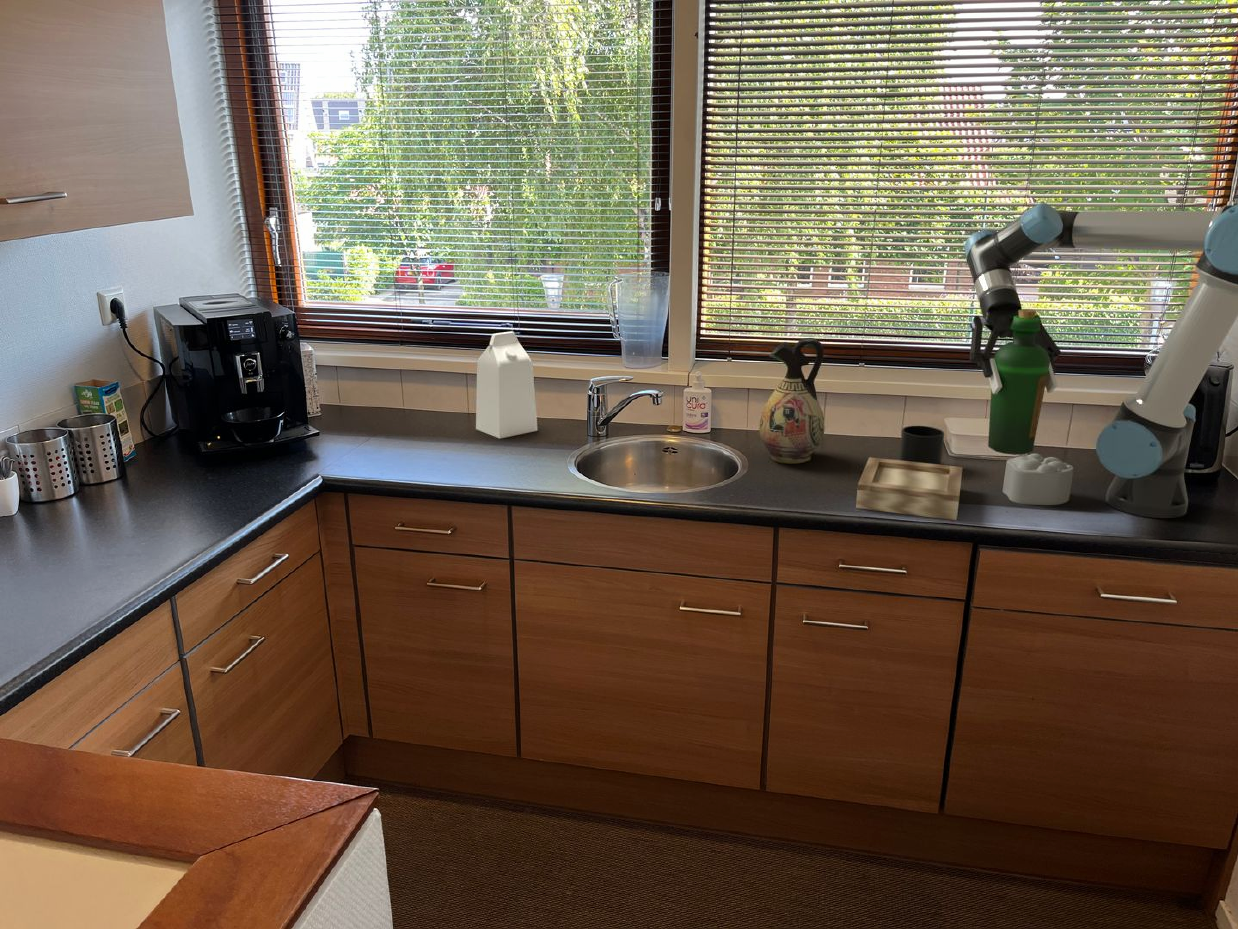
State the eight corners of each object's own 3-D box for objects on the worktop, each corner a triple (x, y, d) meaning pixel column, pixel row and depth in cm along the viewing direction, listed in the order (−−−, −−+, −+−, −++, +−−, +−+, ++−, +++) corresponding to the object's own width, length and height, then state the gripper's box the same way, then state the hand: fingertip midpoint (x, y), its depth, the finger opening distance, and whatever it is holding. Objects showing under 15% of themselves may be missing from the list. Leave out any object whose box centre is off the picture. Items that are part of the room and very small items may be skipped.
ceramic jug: (754, 466, 228) (760, 340, 219) (761, 447, 242) (767, 329, 233) (827, 471, 224) (837, 344, 215) (830, 452, 239) (839, 332, 229)
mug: (929, 458, 234) (932, 422, 232) (945, 474, 223) (950, 436, 220) (890, 458, 234) (893, 422, 231) (905, 474, 223) (909, 436, 220)
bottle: (1050, 453, 191) (1070, 312, 183) (1008, 460, 188) (1026, 316, 179) (1011, 439, 201) (1028, 305, 192) (970, 445, 197) (985, 308, 189)
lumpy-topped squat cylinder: (999, 488, 214) (1003, 450, 211) (1059, 489, 213) (1064, 452, 210) (1013, 504, 204) (1019, 465, 201) (1077, 506, 203) (1083, 467, 201)
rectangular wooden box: (959, 489, 213) (962, 467, 211) (956, 520, 195) (959, 496, 193) (867, 478, 219) (869, 457, 218) (855, 507, 202) (857, 484, 200)
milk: (513, 421, 265) (510, 327, 257) (537, 430, 257) (535, 333, 249) (476, 429, 258) (471, 332, 250) (499, 438, 249) (495, 339, 241)
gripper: (1043, 307, 202) (1072, 398, 192) (937, 309, 200) (960, 400, 190) (1060, 285, 195) (1091, 378, 185) (950, 287, 193) (975, 380, 183)
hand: (1025, 389), depth 188 cm, fingers closed on bottle, 10 cm apart
